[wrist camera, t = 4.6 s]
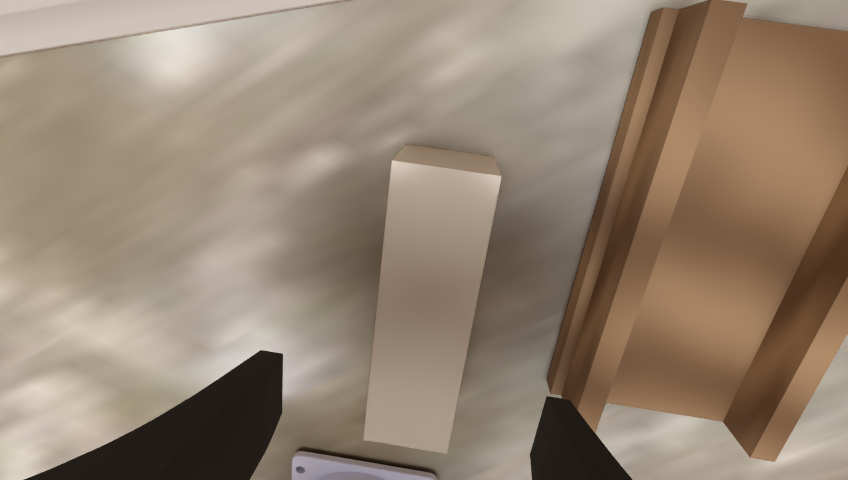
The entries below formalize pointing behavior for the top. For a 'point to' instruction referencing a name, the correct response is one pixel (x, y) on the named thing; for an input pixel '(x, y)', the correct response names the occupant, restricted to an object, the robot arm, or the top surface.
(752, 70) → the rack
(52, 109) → the top surface
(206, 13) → the baseboard
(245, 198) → the top surface
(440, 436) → the beige rectangular block
